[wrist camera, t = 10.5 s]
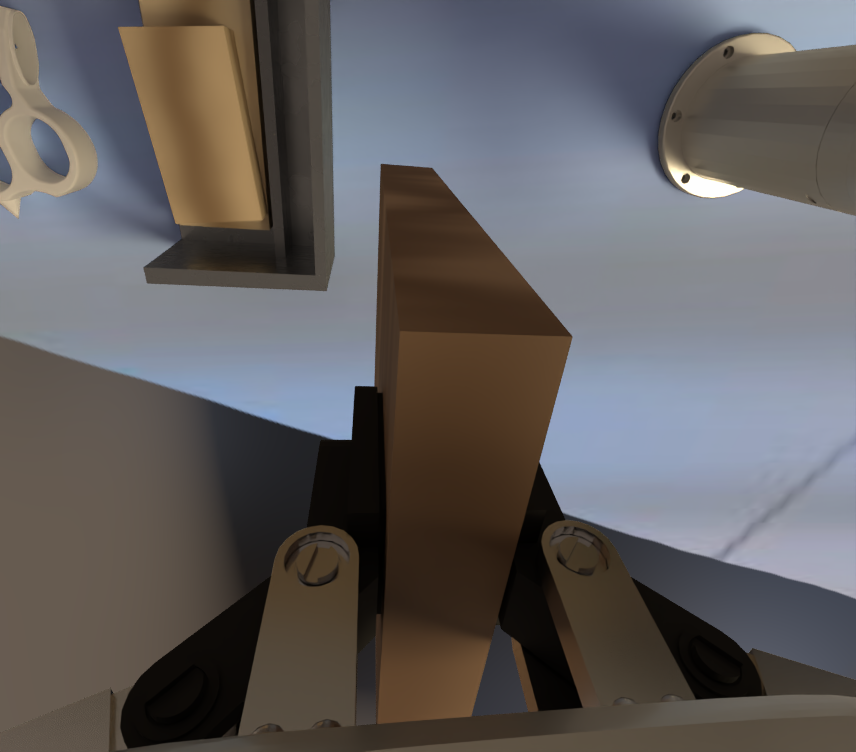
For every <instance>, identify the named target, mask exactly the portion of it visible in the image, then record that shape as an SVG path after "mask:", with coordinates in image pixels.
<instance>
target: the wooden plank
mask: <svg viewBox="0 0 856 752" xmlns="http://www.w3.org/2000/svg"><path fill="white" fill-rule="evenodd" d="M571 341H572V335H571V334H570V333H569V332H568V331H567V329H566V328H565V327H564V326H563V325H562V323H561V322H560V321H559V320H558V319H557V317H556V316H555V315H554V314H553V313H552V311H551V310H550V309H549V308H548V307H547V305H546V304H545V303H544V302H543V301H542V299H541V298H540V297H539V296H538V295H537V293H536V292H535V291H534V290H533V289H532V287H531V286H530V285H529V284H528V283H527V281H526V280H525V279H524V278H523V277H522V275H521V274H520V273H519V272H518V271H517V269H516V268H515V267H514V266H513V265H512V263H511V262H510V261H509V260H508V259H507V257H506V256H505V255H504V254H503V253H502V251H501V250H500V249H499V248H498V247H497V245H496V244H495V243H494V242H493V241H492V239H491V238H490V237H489V236H488V235H487V233H486V232H485V231H484V230H483V229H482V227H481V226H480V225H479V224H478V223H477V221H476V220H475V219H474V218H473V217H472V215H471V214H470V213H469V212H468V210H467V209H466V208H465V207H464V206H463V204H462V203H461V202H460V201H459V200H458V198H457V197H456V196H455V195H454V194H453V192H452V191H451V190H450V189H449V188H448V186H447V185H446V184H445V183H444V182H443V180H442V179H441V178H440V177H439V176H438V174H437V173H436V172H435V171H434V170H433V168H426V167H414V166H401V165H388V164H381V174H380V210H379V245H378V280H377V315H376V350H375V387H378V393H383V419H384V450H385V481H386V531H385V550H384V569H383V588H382V607H381V614H377V615H376V724H382V723H395V722H407V721H419V720H432V719H445V718H458V717H471V715H472V711H473V707H474V704H475V700H476V696H477V692H478V688H479V685H480V681H481V677H482V674H483V669H484V666H485V662H486V658H487V655H488V651H489V647H490V644H491V640H492V636H493V632H494V629H495V625H496V621H497V617H498V614H499V610H500V606H501V603H502V599H503V595H504V591H505V588H506V584H507V580H508V576H509V573H510V569H511V565H512V561H513V558H514V554H515V550H516V546H517V543H518V539H519V535H520V531H521V528H522V524H523V520H524V517H525V513H526V509H527V505H528V502H529V498H530V494H531V490H532V487H533V483H534V479H535V475H536V472H537V468H538V464H539V460H540V457H541V453H542V449H543V445H544V442H545V438H546V434H547V430H548V427H549V423H550V419H551V416H552V412H553V408H554V404H555V401H556V397H557V393H558V389H559V386H560V382H561V378H562V374H563V371H564V367H565V363H566V359H567V356H568V352H569V348H570V344H571Z"/></svg>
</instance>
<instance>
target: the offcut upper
mask: <svg viewBox="0 0 856 752" xmlns="http://www.w3.org/2000/svg"><path fill="white" fill-rule="evenodd" d="M118 29H119V32H120V36H121V39H122V42H123V46H124V49H125V53H126V56H127V59H128V63H129V66H130V70H131V73H132V76H133V80H134V83H135V87H136V90H137V93H138V97H139V100H140V104H141V107H142V111H143V114H144V117H145V121H146V124H147V128H148V131H149V134H150V138H151V141H152V145H153V148H154V151H155V155H156V158H157V162H158V165H159V168H160V172H161V175H162V179H163V182H164V185H165V189H166V192H167V196H168V199H169V202H170V206H171V209H172V213H173V216H174V219H175V223H176V224H188V223H211V222H234V221H257V220H263V219H264V218H265V217H266V215H267V214H268V209H267V204H266V199H265V193H264V188H263V183H262V178H261V172H260V167H259V162H258V157H257V152H256V146H255V141H254V136H253V131H252V125H251V120H250V115H249V110H248V104H247V99H246V94H245V89H244V83H243V78H242V73H241V68H240V63H239V57H238V52H237V47H236V42H235V36H234V31H233V30H231V29H229V28H227V27H225V26H163V27H118Z"/></svg>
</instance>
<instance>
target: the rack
mask: <svg viewBox="0 0 856 752" xmlns="http://www.w3.org/2000/svg"><path fill="white" fill-rule="evenodd" d="M138 2H139V0H138ZM254 2H255V14H256V26H257V38H258V50H259V62H260V74H261V86H262V98H263V110H264V122H265V134H266V146H267V158H268V170H269V182H270V194H271V206H272V219H273V227H272V228H271V229H270V230H254V229H237V228H220V227H203V226H186V225H180V224H179V226H180V231H181V237H182V239H181V240H180V241H178V242H177V243H176V244H174V245H173V246H172V247H170V248H169V249H168V250H166V251H165V252H164V253H162V254H161V255H160V256H158V257H157V258H156V259H154V260H153V261H151V262H150V263H149V264H147V265H146V266H145V267H143V268H144V272H145V276H146V281H147V283H151V284H174V285H198V286H221V287H245V288H268V289H292V290H315V291H327V287H328V283H329V278H330V274H331V270H332V265H333V261H334V257H335V250H334V194H333V139H332V83H331V27H330V0H254ZM139 7H140V2H139ZM140 13H141V8H140ZM141 18H142V13H141ZM142 24H143V19H142ZM143 27H144V24H143Z"/></svg>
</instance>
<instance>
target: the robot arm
mask: <svg viewBox="0 0 856 752" xmlns="http://www.w3.org/2000/svg"><path fill="white" fill-rule="evenodd" d="M723 53H724V54H723ZM672 114H673V117H672ZM658 151H659V156H660V162H661V165H662V167H663V170H664V172H665V174H666V176H667V177H668V178H669V180H670V181H671V183H672V184H674V185H675V186H676V187H677V188H678V189H679V190H681V191H683V192H685V193H687V194H690V195H693V196H697V197H700V198H719V197H725V196H728V195H731V194H734V193H737V192H739V191H741V190H743V189H748V190H752V191H756V192H760V193H764V194H769V195H773V196H777V197H781V198H785V199H789V200H793V201H797V202H801V203H805V204H809V205H814V206H818V207H822V208H826V209H830V210H834V211H838V212H842V213H846V214H850V215H854V216H856V45H848V46H839V47H830V48H821V49H812V50H802V51H796V49H795V48H794V47H793V46H792V45H791V44H790V43H789V42H787V41H786V40H784V39H783V38H781V37H780V36H776V35H772V34H769V33H750V34H744V35H739V36H736V37H733V38H730V39H727V40H724V41H723V42H721V43H719V44H717V45H716V46H714V47H712V48H710V49H709V50H708V51H707V52H705V53H704V54H703V55H702V56H700V57H699V58H698V59H697V60H696V61H695V62H694V63H693V64H692V65H691V66H690V67H689V68H688V70H687V71H686V72H685V73H684V74H683V76H682V77H681V79H680V80H679V82H678V83H677V84H676V86H675V87H674V89H673V91H672V93H671V95H670V97H669V99H668V101H667V103H666V106H665V109H664V112H663V115H662V118H661V123H660V128H659V134H658ZM681 178H682V179H681ZM385 531H386V481H385V450H384V419H383V393H378V387H371V386H355V395H354V411H353V427H352V440H321V441H320V446H319V452H318V459H317V465H316V472H315V478H314V484H313V491H312V497H311V504H310V510H309V517H308V524H307V528H305V529H303V530H300V531H297V532H296V533H295V534H293V535H292V536H291V537H289V538H287V540H286V541H285V542H284V543H283V544H282V546H281V547H280V548H279V550H278V552H277V555H276V558H275V561H274V565H273V570H272V575H271V576H270V577H269V578H268V579H266V580H265V581H264V582H262V583H261V584H260V585H258V586H257V587H256V588H254V589H253V590H252V591H250V592H249V593H248V594H246V595H245V596H244V597H242V598H241V599H240V600H238V601H237V602H236V603H234V604H233V605H232V606H230V607H229V608H228V609H226V610H225V611H224V612H222V613H221V614H220V615H219V616H217V617H215V618H214V619H213V620H211V621H210V622H209V623H208V624H206V625H205V626H203V627H202V628H201V629H200V630H198V631H197V632H196V633H194V634H193V635H191V636H190V637H189V638H187V639H186V640H185V641H183V642H182V643H181V644H180V645H178V646H177V647H175V648H174V649H173V650H172V651H170V652H169V653H168V654H166V655H165V656H163V657H162V658H161V659H159V660H158V661H157V662H156V663H154V664H153V665H152V666H151V667H150V668H149V669H148V670H147V671H146V672H144V673H143V674H142V675H141V676H140V678H139V679H138V680H137V682H136V683H135V685H133V686H131V687H128V688H126V689H123V690H121V691H118V692H116V693H113V691H112V689H111V688H109V689H106V690H104V691H101V692H99V693H97V694H94V695H92V696H89V697H87V698H84V699H82V700H80V701H77V702H74V703H72V704H69V705H67V706H65V707H62V708H60V709H57V710H55V711H52V712H50V713H47V714H45V715H43V716H40V717H38V718H35V719H33V720H30V721H28V722H25V723H23V724H20V725H18V726H15V727H13V728H10V729H8V730H5V731H3V732H1V733H0V752H856V680H854V679H851V678H847V677H844V676H841V675H838V674H834V673H831V672H828V671H825V670H821V669H818V668H815V667H812V666H809V665H805V664H802V663H799V662H796V661H792V660H789V659H786V658H783V657H779V656H776V655H773V654H770V653H766V652H763V651H760V650H757V649H754V648H752V650H751V651H750V652H749V653H746V652H745V651H744V650H743V649H742V648H740V646H739V645H738V644H737V643H736V642H735V641H734V640H732V639H731V638H730V637H728V636H727V635H725V634H724V633H723V632H721V631H720V630H718V629H717V628H715V627H713V626H712V625H710V624H708V623H707V622H705V621H703V620H701V619H700V618H698V617H697V616H695V615H693V614H691V613H690V612H688V611H687V610H685V609H683V608H682V607H680V606H678V605H677V604H675V603H673V602H672V601H670V600H668V599H667V598H665V597H663V596H662V595H660V594H658V593H657V592H655V591H653V590H652V589H650V588H648V587H647V586H645V585H643V584H642V583H640V582H638V581H637V580H635V579H633V578H632V577H630V575H629V573H628V571H627V569H626V567H625V565H624V563H623V562H622V560H621V558H620V556H619V554H618V552H617V550H616V549H615V547H614V546H613V545H612V543H611V542H610V540H609V539H608V538H607V537H606V536H604V535H603V534H602V533H601V532H600V531H598V530H596V529H595V528H593V527H591V526H589V525H587V524H584V523H581V522H578V521H569V520H565V518H564V516H563V513H562V511H561V509H560V507H559V505H558V502H557V500H556V498H555V496H554V494H553V491H552V489H551V487H550V485H549V482H548V480H547V478H546V476H545V474H544V471H543V469H542V467H541V465H540V463H539V464H538V468H537V472H536V475H535V479H534V483H533V487H532V490H531V494H530V498H529V502H528V505H527V509H526V513H525V517H524V520H523V524H522V528H521V531H520V535H519V539H518V543H517V546H516V550H515V554H514V558H513V561H512V565H511V569H510V573H509V576H508V580H507V584H506V588H505V591H504V595H503V599H502V603H501V606H500V610H499V614H498V617H497V621H496V625H500V626H501V629H502V630H503V631H504V632H506V633H507V634H509V635H510V636H511V637H512V648H513V652H514V656H515V660H516V664H517V668H518V672H519V676H520V680H521V684H522V688H523V692H524V696H525V700H526V704H527V708H528V712H523V713H511V714H497V715H484V716H471V717H458V718H445V719H432V720H419V721H407V722H395V723H382V724H370V725H358V726H356V703H357V664H358V663H357V662H358V660H357V659H358V653H359V652H360V651H361V650H362V649H363V648H364V647H365V646H366V645H367V644H368V643H369V642H370V641H371V640H372V639H373V638H374V637H375V636H376V615H377V614H381V607H382V588H383V569H384V550H385Z"/></svg>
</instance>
